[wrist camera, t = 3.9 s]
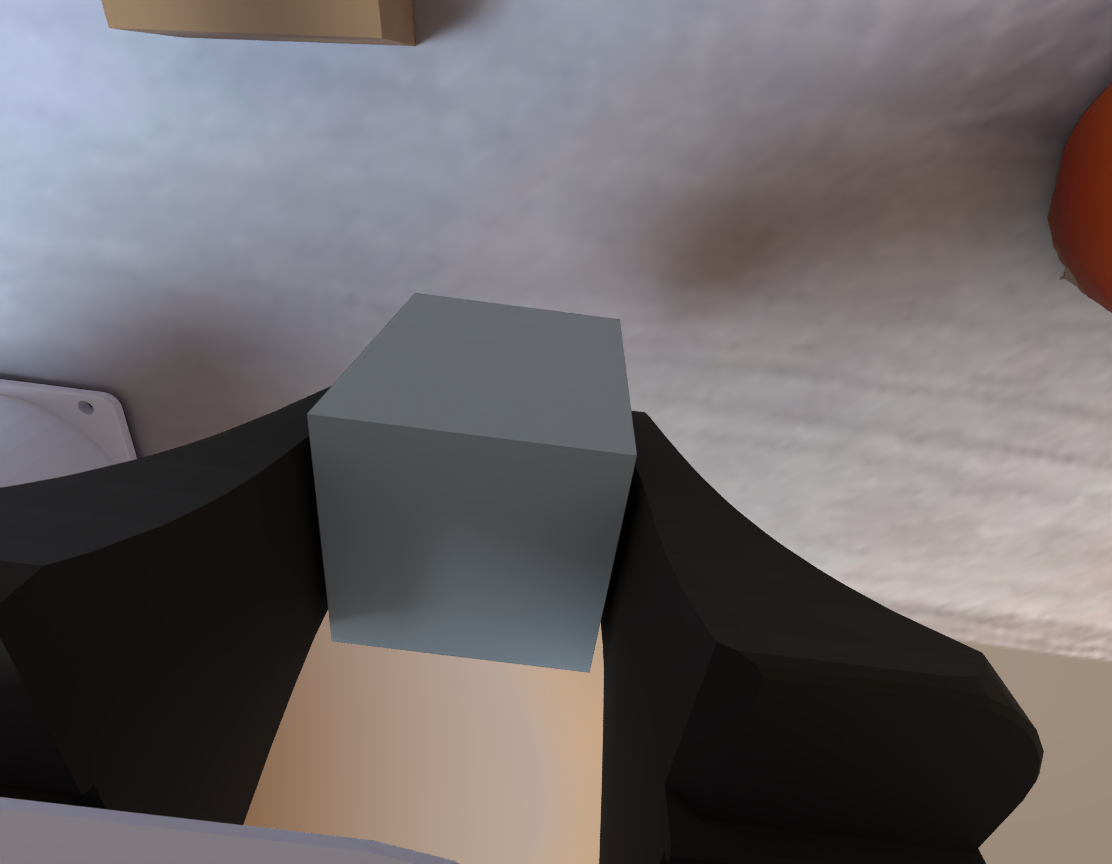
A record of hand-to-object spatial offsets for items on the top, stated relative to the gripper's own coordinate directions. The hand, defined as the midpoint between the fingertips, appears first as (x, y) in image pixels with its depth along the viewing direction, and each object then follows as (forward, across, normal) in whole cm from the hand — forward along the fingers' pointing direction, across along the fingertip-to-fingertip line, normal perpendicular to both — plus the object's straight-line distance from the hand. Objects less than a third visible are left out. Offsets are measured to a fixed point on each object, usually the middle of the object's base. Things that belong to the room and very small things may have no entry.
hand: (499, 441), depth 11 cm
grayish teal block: (+2, 0, 0) cm, 2 cm away
